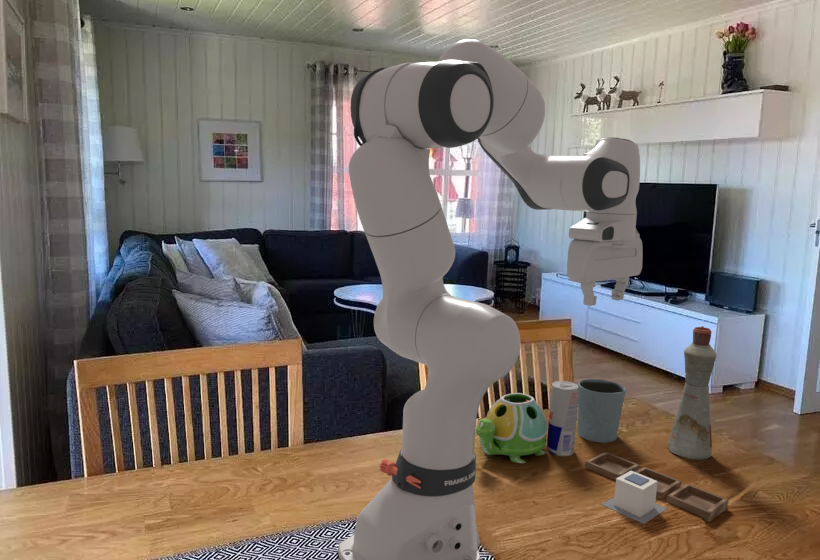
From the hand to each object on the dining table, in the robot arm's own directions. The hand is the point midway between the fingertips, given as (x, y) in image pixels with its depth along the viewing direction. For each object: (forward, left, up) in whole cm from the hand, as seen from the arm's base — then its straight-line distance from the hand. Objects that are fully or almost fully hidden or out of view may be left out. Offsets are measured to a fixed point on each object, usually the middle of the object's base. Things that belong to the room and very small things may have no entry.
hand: (603, 302), depth 119 cm
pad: (-6, -13, -34) cm, 37 cm away
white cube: (-6, -13, -34) cm, 36 cm away
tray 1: (+4, -2, -34) cm, 34 cm away
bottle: (+25, -8, -34) cm, 43 cm away
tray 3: (+4, -19, -34) cm, 39 cm away
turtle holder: (-6, +15, -34) cm, 38 cm away
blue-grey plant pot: (+17, +9, -34) cm, 39 cm away
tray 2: (+4, -11, -34) cm, 36 cm away
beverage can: (+3, +9, -34) cm, 36 cm away
